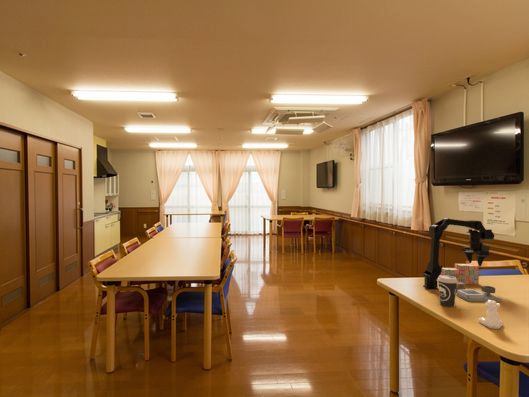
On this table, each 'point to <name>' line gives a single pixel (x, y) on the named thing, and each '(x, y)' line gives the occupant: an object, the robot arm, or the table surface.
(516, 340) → the table surface
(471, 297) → the light gray tray
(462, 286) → the brown wooden block
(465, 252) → the robot arm
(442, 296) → the coffee cup
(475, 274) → the stack of blocks
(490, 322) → the sitting furry creature
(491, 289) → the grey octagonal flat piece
